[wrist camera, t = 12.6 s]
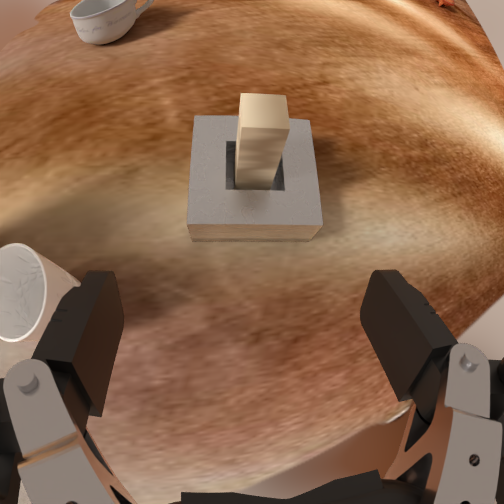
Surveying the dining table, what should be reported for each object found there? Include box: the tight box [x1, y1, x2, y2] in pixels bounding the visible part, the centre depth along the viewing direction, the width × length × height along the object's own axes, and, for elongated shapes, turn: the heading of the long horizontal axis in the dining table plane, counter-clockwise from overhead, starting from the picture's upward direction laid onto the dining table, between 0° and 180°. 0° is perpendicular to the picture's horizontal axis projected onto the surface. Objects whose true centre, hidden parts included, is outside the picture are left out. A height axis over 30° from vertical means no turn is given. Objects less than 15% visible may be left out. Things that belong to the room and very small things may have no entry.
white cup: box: [0, 243, 81, 342], centre depth 24 cm, size 8×8×10 cm
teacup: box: [70, 0, 154, 45], centre depth 36 cm, size 14×11×8 cm
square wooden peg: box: [234, 93, 290, 190], centre depth 27 cm, size 3×3×12 cm
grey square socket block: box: [187, 116, 323, 242], centre depth 31 cm, size 12×12×5 cm
